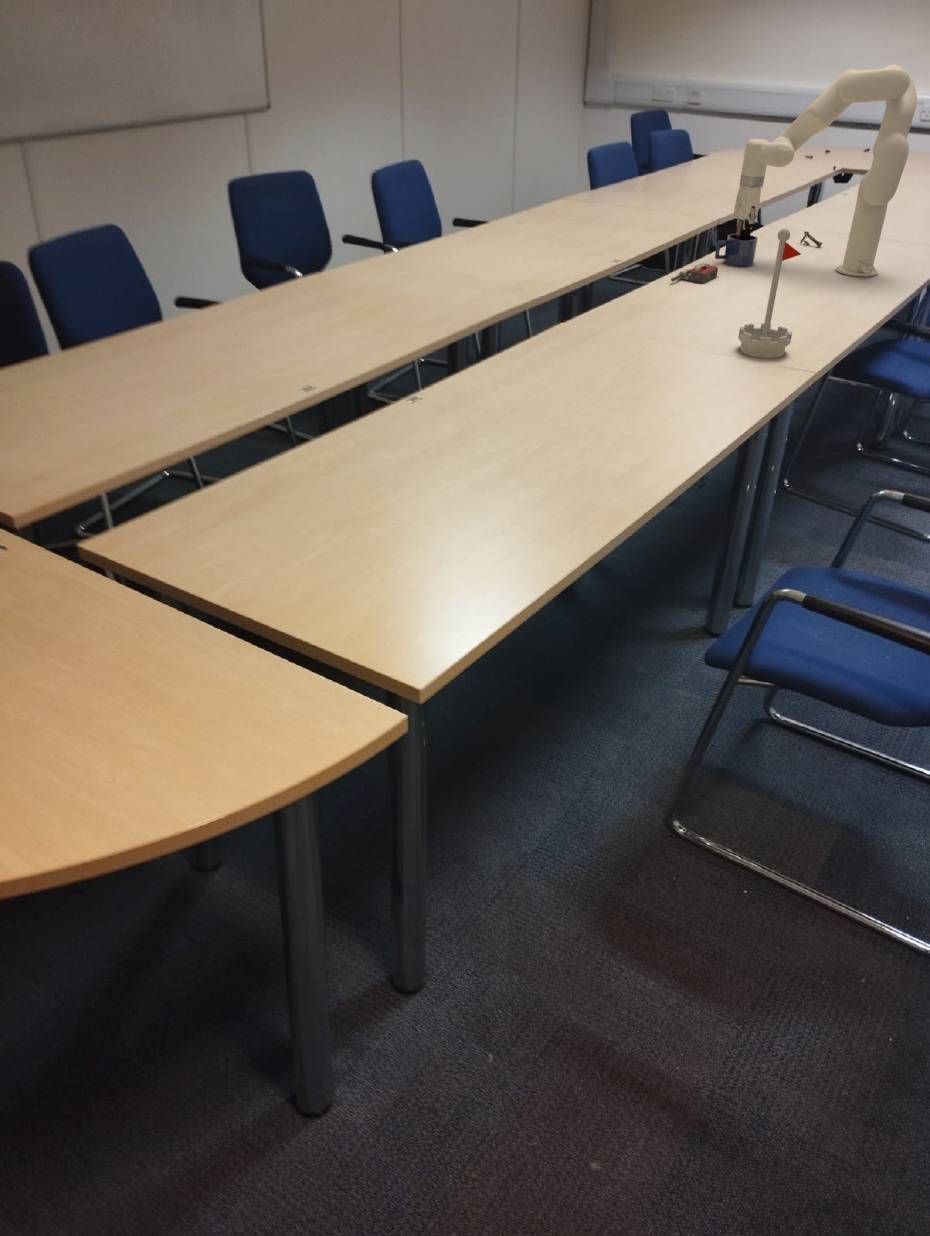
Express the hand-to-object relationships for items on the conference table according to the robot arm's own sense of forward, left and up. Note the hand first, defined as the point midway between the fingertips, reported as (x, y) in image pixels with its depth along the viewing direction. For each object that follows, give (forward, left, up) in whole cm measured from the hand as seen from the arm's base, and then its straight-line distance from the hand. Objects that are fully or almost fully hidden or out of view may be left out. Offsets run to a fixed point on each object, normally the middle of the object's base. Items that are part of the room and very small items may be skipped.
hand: (741, 240), depth 326 cm
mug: (0, +2, -8) cm, 8 cm away
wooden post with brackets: (+25, -36, -8) cm, 45 cm away
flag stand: (-92, +26, -8) cm, 96 cm away
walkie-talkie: (-21, +22, -8) cm, 31 cm away
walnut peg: (0, 0, -1) cm, 1 cm away
